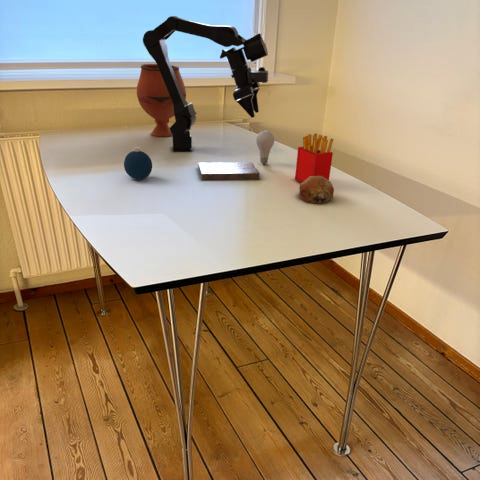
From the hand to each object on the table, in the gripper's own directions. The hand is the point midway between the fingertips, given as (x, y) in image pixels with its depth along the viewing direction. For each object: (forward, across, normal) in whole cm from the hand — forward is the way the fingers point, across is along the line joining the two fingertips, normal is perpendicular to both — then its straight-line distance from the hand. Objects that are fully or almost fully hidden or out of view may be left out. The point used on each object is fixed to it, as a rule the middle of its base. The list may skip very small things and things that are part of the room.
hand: (255, 114), depth 170 cm
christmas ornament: (+1, -38, +33) cm, 50 cm away
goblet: (-3, +21, +43) cm, 48 cm away
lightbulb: (+15, -10, +1) cm, 18 cm away
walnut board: (+11, -25, +10) cm, 29 cm away
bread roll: (+23, -40, -17) cm, 49 cm away
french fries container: (+22, -26, -15) cm, 37 cm away
